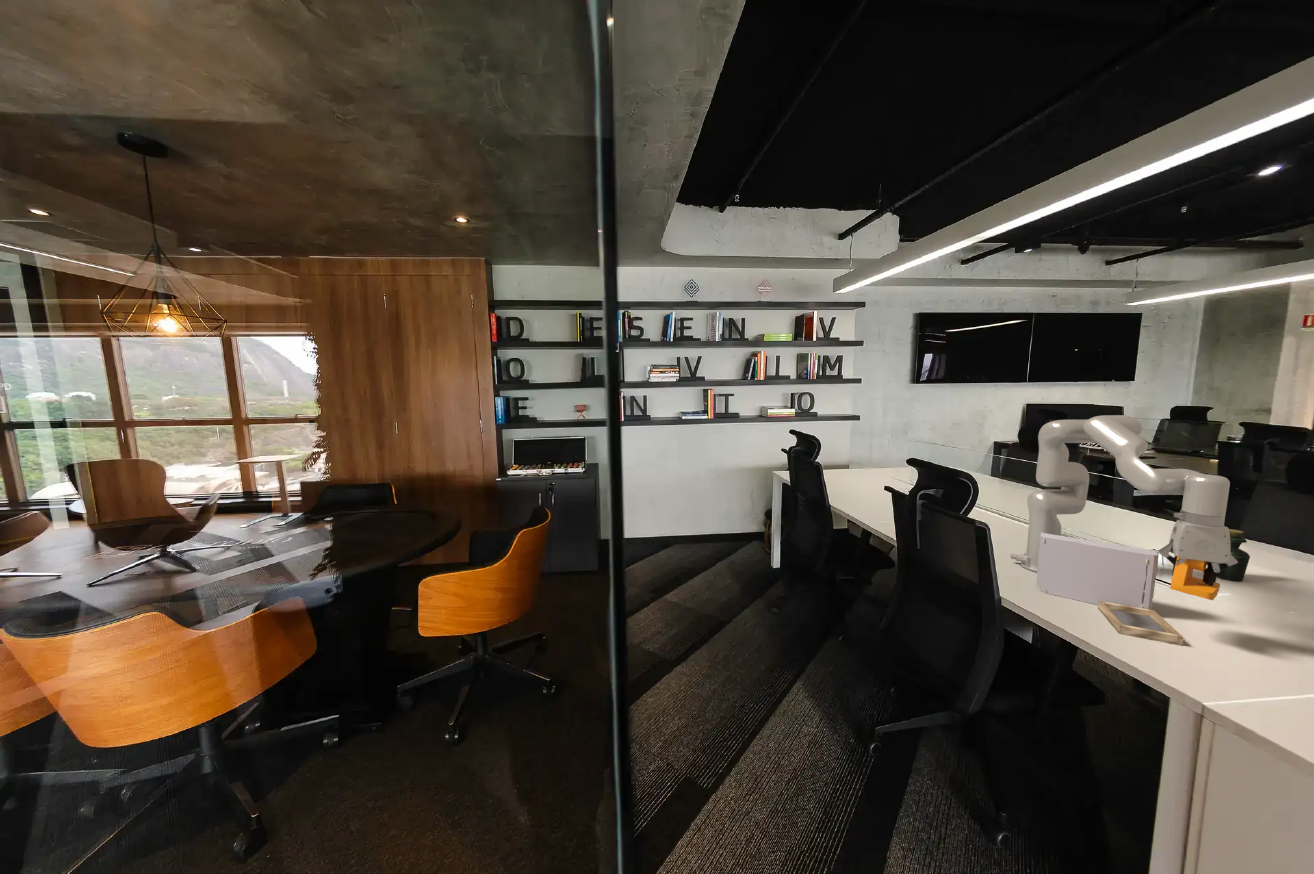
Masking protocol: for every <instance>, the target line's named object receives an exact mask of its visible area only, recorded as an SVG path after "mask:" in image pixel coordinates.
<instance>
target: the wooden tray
mask: <svg viewBox="0 0 1314 874" xmlns="http://www.w3.org/2000/svg"><path fill="white" fill-rule="evenodd" d="M1097 609H1098V610H1099V612H1100V613H1101V614H1102V615H1103V616H1104V618H1105V619H1106V620H1107V621H1108V623H1109V624H1110V625H1111V626H1112V627H1113V628H1114V630H1116V632H1117V633H1118V634H1119V635H1125V636H1130V637H1136V638H1139V639H1140V638H1141V639H1144V640H1145V639H1146V640H1149V641H1150V640H1151V641H1156V642H1162V643H1166V644H1171V645H1176V646H1181V647H1183V642H1184V636H1183V635H1181V634H1180V633H1179V632H1178V631H1177V630H1176V629H1175V628H1174V627H1173V626H1172V625H1171V624H1169V623H1168V622H1167V621H1166V620H1165V619H1164V618H1163V617H1162V616H1161V615H1160V614H1159V613H1158V612H1157V611H1156V610H1155V609H1152V610H1149V609H1143V608H1137V607H1131V606H1125V605H1119V604H1114V603H1108V602H1102V601H1098V605H1097Z"/></svg>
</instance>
